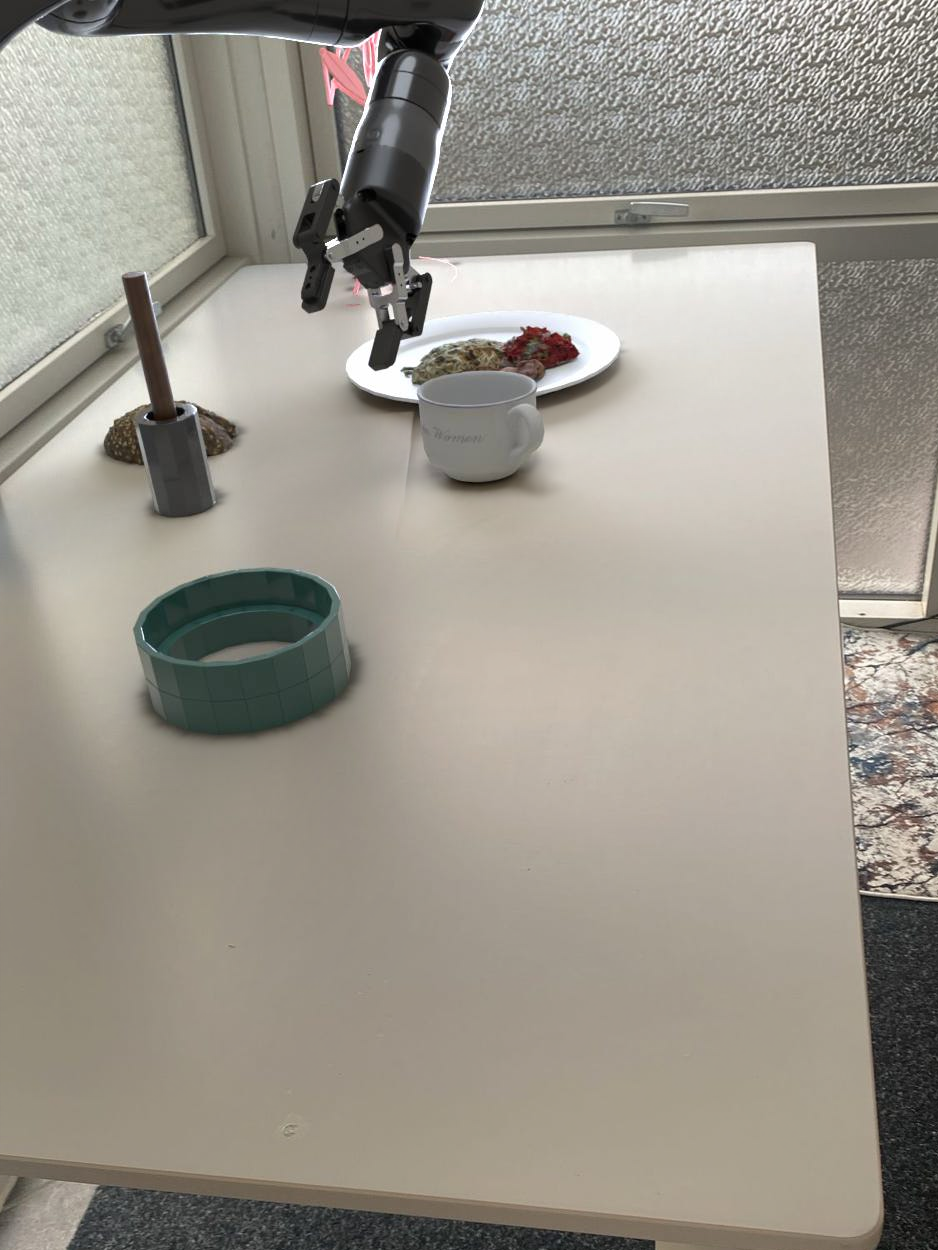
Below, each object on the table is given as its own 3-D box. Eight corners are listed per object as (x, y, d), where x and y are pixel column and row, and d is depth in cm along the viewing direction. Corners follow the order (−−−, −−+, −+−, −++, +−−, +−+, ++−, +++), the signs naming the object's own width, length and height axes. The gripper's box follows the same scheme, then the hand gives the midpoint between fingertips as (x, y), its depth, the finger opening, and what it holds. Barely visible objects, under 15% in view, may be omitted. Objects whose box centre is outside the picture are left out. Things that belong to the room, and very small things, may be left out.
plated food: (294, 381, 149) (289, 350, 147) (493, 312, 163) (491, 283, 161) (471, 441, 130) (468, 407, 128) (677, 357, 145) (678, 325, 143)
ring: (134, 749, 90) (112, 672, 87) (174, 646, 102) (156, 574, 98) (342, 736, 90) (328, 658, 86) (359, 634, 101) (348, 561, 97)
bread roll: (91, 455, 136) (78, 406, 133) (190, 417, 142) (180, 370, 139) (162, 482, 128) (150, 432, 125) (264, 441, 135) (254, 392, 131)
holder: (152, 525, 120) (128, 427, 115) (164, 500, 125) (141, 405, 119) (211, 520, 120) (189, 422, 114) (221, 496, 124) (200, 400, 119)
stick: (172, 509, 121) (118, 278, 109) (177, 500, 123) (124, 272, 110) (194, 508, 121) (142, 276, 109) (198, 499, 123) (147, 269, 110)
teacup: (407, 466, 126) (396, 382, 121) (507, 439, 130) (501, 355, 125) (473, 515, 116) (465, 425, 111) (580, 484, 120) (577, 395, 115)
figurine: (347, 314, 168) (301, -15, 146) (347, 262, 188) (307, -34, 167) (468, 301, 168) (440, -30, 147) (454, 250, 188) (428, -47, 167)
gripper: (408, 235, 123) (367, 392, 120) (303, 128, 112) (256, 297, 109) (472, 216, 118) (431, 379, 115) (369, 102, 107) (321, 278, 104)
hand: (346, 339), depth 112 cm, fingers open, 8 cm apart
